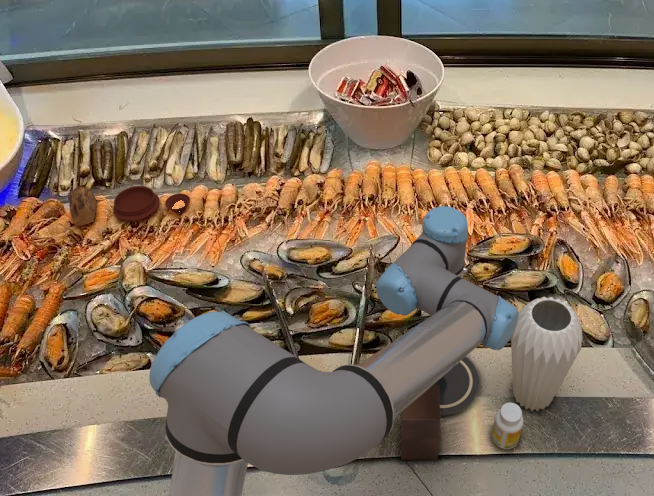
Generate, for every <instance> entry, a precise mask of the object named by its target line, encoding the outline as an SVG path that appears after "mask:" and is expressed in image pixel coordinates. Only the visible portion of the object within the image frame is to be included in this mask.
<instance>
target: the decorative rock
mask: <svg viewBox="0 0 654 496" xmlns="http://www.w3.org/2000/svg"><path fill="white" fill-rule="evenodd" d="M67 199H68V204H69V205H68V206H69V207H68V208H69V213H70V217H71V220H72V223H73V224H74V225H75V226H77V227H81V226H85V225H89V224H90V223H93V222H94V221H95V216H96V210H97V206H98V205H97V204H98V202H97V198H96V196H95V195H94V193H93V191H92V190H91V189H87V188H86V187H85V186H76V187H75V188H74V189H73V190H71V191H70V192H69V193H68V195H67Z"/></svg>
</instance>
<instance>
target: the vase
mask: <svg viewBox="0 0 654 496" xmlns="http://www.w3.org/2000/svg"><path fill="white" fill-rule="evenodd" d="M518 312H519V318H518V322H517V325H516V327H515V330H514V332H513V334H512V336H511V338H510V347H511V375H512V377H511V378H512V392H513V393H512V394H513V397H514V398H515V402H516V403H520V404H519V407H524V409H525V410H530V411H531V412H533V411H534V410H535V411H537V412H539V410H540V409H541V410H543V411H544V410H545V408H546V407H549V406H550V404H551V403H552V401H553V400H554V397H555V396H556V394H557V393H558V391H559V389H560V387H561V386H562V384H563V382H564V380H565V378H566V377H567V375H568V374H569V371H570V369H571V368H572V366H573V364H574V362H575V361H576V359H577V357H578V355H579V353H580V352H581V350H582V342H583V340H584V339H583V327H582V324H581V322H580V320H579V317H578V316H579V315H577V313H576V311H575V310H574V309H573V307H572V306H570V305H569V304H568V302H567V301H562V300H561V298H556V299H554V297H553V296H549V297H546V296H542V297H540V298H535V299H533V300H531V301H530V302H527V303H526V305H525V306H524V307H522V308H521V309H520V310H519V311H518Z"/></svg>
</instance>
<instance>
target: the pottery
mask: <svg viewBox="0 0 654 496" xmlns="http://www.w3.org/2000/svg"><path fill="white" fill-rule="evenodd" d="M180 200H182V201H184V203H185V206H184V207H182V208H179V209H172V207H173V206H174V204H175V203H176V202H178V201H180ZM190 202H191V198H190V196H189V195H187V194H185V193H175V194H172V195H170V196H168V198H166V199H165V202H164V205H165V207H166V208H167V209H168V210H169V211H172V212H174V213H175V214H176V215H177V214H178V215H181V214H183V213H185V212H186V210H187V208H188V206H189V205H190ZM160 203H161V200H160V197H159V195H158V194H157V193H155V192H154V191H153V189H152V188H150V187H148V186H144V185H134V186H131V187H127V188H125V189H122V190H121V191H119V192H118V194H116V196H115V198H114V200H113V208H112V209H113V211H112V212H113V214H114V216H115V217H116V218H118V219H120V220H122V221H128V222H129V221H138V220H141V219H145V218H147V217H149V216H150V215H152V214H153V213H155V212H156V211H157V209H158V208H159V206H160ZM179 211H180V212H179Z"/></svg>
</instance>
